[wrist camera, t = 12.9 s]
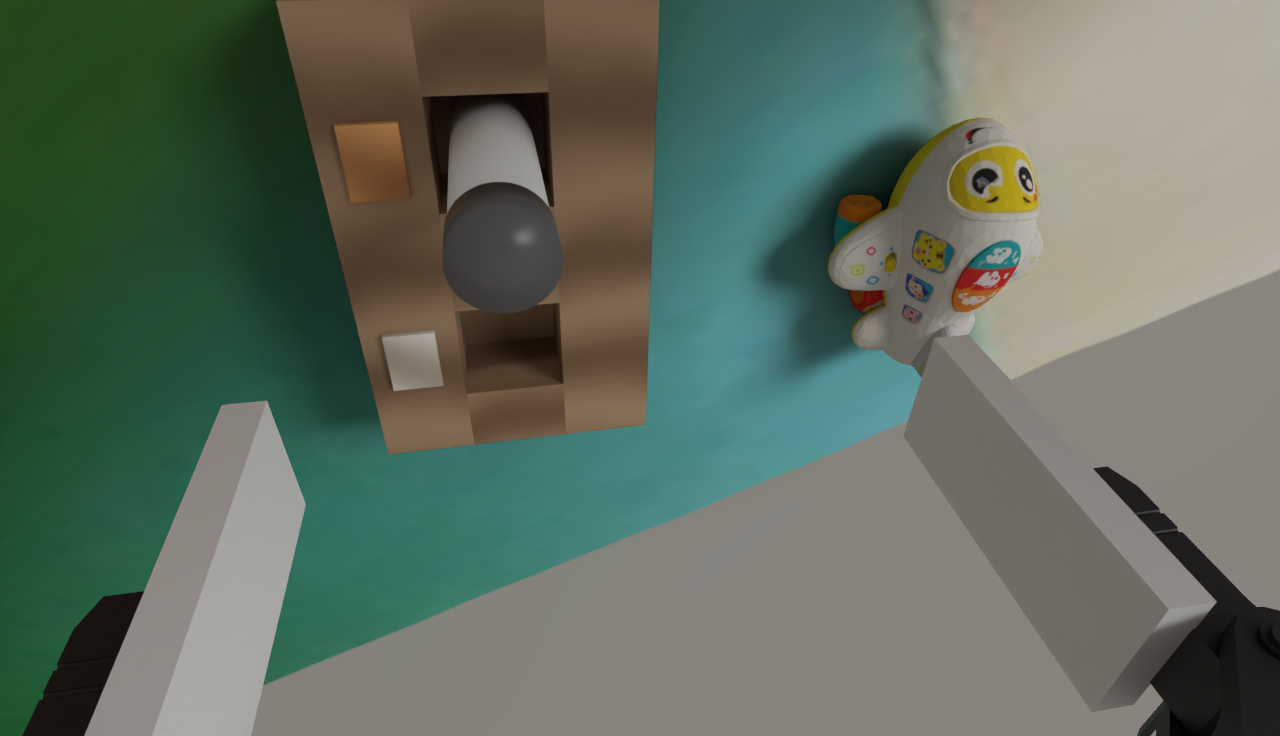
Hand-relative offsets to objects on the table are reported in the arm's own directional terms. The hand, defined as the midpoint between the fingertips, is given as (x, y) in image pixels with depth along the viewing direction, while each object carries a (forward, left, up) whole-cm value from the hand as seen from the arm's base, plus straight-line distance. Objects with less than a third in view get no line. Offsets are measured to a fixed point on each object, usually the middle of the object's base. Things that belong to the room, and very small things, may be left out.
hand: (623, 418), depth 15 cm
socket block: (+7, -2, -26) cm, 27 cm away
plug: (+2, -2, -24) cm, 24 cm away
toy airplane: (+10, +22, -26) cm, 36 cm away
